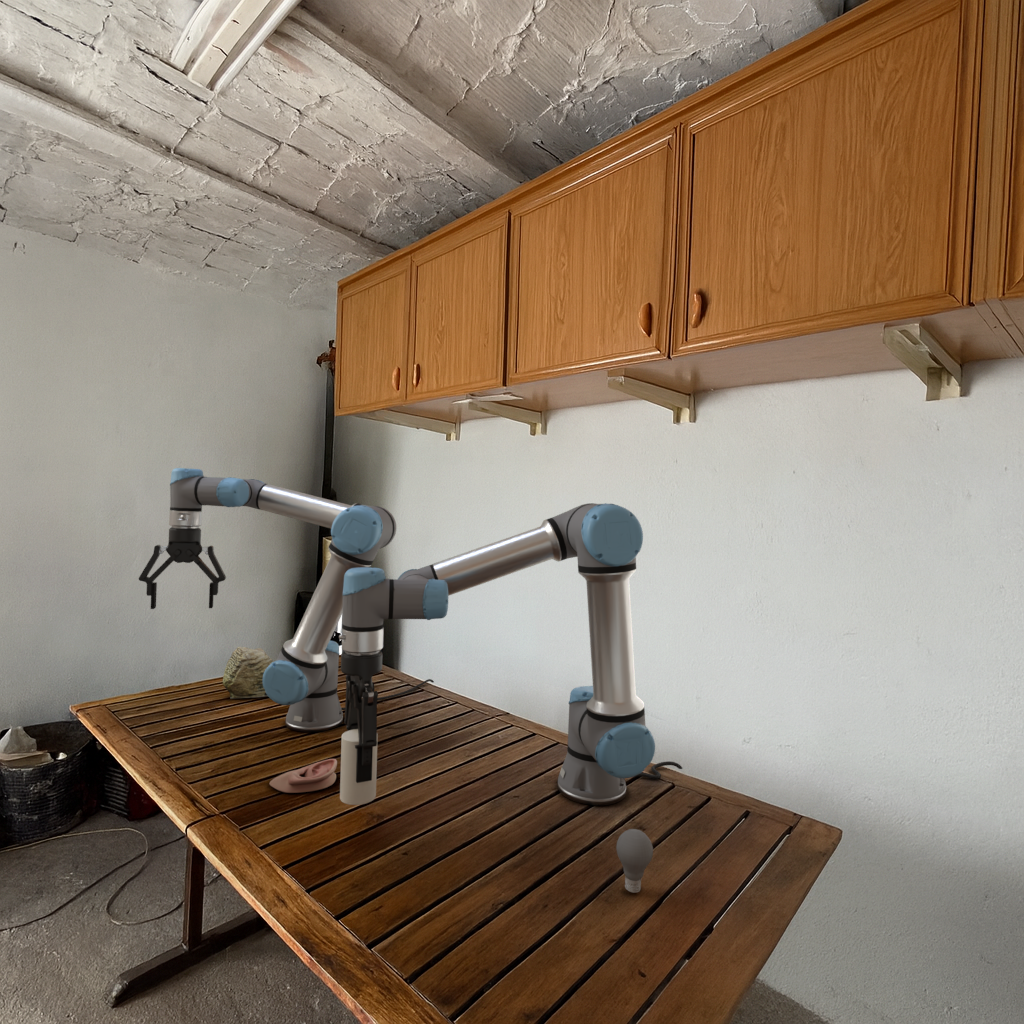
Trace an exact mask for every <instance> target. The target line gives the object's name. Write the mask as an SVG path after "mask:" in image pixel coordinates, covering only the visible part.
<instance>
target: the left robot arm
mask: <svg viewBox="0 0 1024 1024" xmlns="http://www.w3.org/2000/svg"><path fill="white" fill-rule="evenodd" d="M169 495H170V496H169V497H170V500H169V515H168V516H169V517H168V518H169V520H168V525H169V526H171V527H169V528H168V543H167V545H161V544H156V545H155V546H154V547H153V553H152V555H151V556H150V559H149V560H148V562H147V563H146V565H145V566H144V568H143V570H142V572H141V573H140V575H139V577H138V581H140V582H144V583H146V593H145V594H146V596H148V597H150V610H155V609H156V608H157V591H158V590H157V589H158V583H157V582H154V581H155V580H156V579H157V578H158V577H159V576H160V575H161V574H162V573H163V572H164V571H165V570H166V569H167V568H168V567H169V566H171V564H173V562H175V563H176V564H181V563H185V564H191V563H193V562H194V563H195V564H196V565H197V566H198V567H199V568H200V570H201V571H202V572H203V573H204V574H205V576H207V577H208V579H210V581H211V582H210V583H209V588H208V589H209V591H208V592H209V593H208V609H213V608H214V596H217V595H218V594H219V583H221V582H224V581H225V580H226V579H227V576H226V574H225V572H224V570H223V568H222V565H221V564H220V562H219V560H218V558H217V557H216V555H215V548H214V546H213V545H209V546H202V544H201V543H202V529H201V528H200V527H201V526H202V518H203V517H202V516H203V506H211V507H212V506H213V507H226V508H240V507H247V508H252V509H254V510H255V509H256V510H259V511H264V512H269V513H271V514H275V515H279V516H283V517H287V518H290V519H293V520H298V521H301V522H305V523H308V524H313V525H316V526H320V527H324V528H327V529H330V535H331V540H330V542H329V545H328V547H327V548H328V549H327V550H328V551H329V553H330V557H329V560H328V562H327V564H326V566H325V568H324V571H323V573H322V575H321V577H320V579H319V581H318V583H317V586H316V588H315V590H314V592H313V594H312V596H311V599H310V601H309V603H308V605H307V607H306V609H305V612H304V613H303V616H302V618H301V621H300V622H299V625H298V627H297V629H296V631H295V633H294V635H293V637H292V638H291V639H288V640H286V641H285V642H284V643H283V645H282V647H281V649H280V651H279V653H278V656H277V658H276V659H275V660H273V661H274V662H272V663H271V664H270V665H269V666H268V667H267V668H266V670H265V672H264V674H263V687H264V688H265V691H266V694H267V695H268V696H267V697H268V698H269V699H270V700H272V701H273V702H274V703H276V704H278V705H281V706H289V708H288V711H287V713H286V715H285V726H286V728H287V729H289V730H291V731H294V732H295V731H296V732H301V733H316V732H325V731H329V730H332V729H335V728H337V727H339V726H340V725H342V723H344V714H343V711H345V707H342V706H341V702H340V699H339V695H338V682H339V662H340V661H339V660H340V645H339V643H338V642H337V641H335V640H331V639H332V637H333V635H334V633H335V630H336V628H337V626H338V624H339V621H340V620H341V618H342V608H343V586H344V575H345V573H346V572H347V570H349V569H351V568H360V567H370V568H371V566H372V565H373V563H374V561H375V558H376V557H377V554H378V553H379V550H380V549H383V548H386V547H387V546H388V545H390V544H391V543H392V541H393V540H394V538H395V536H396V533H397V522H396V519H395V517H394V515H393V513H391V512H390V511H389V510H388V509H387V508H384V507H382V506H379V505H367V504H362V503H358V502H355V503H353V504H352V505H351V504H347V503H345V502H344V503H343V502H339V501H336V500H332V499H327V498H324V497H321V496H316V495H312V494H309V493H304V492H301V491H297V490H293V489H290V488H285V487H281V486H277V485H273V484H271V483H266V482H264V481H262V480H259V479H255V478H250V479H248V478H237V477H230V476H229V477H220V476H219V477H217V476H205V475H204V471H203V470H202V469H200V468H186V467H185V468H184V467H175V468H173V469H172V470H171V475H170V483H169ZM164 552H166V553H167V555H169V557H168V558H167V559H165V561H164V562H163V563H162V564H161V565H160V566H159V567H158V568H157V569H156V570H155V571H154V572H153V573H152V574H151V575H150V576H149V574H150V572H151V570H152V569H153V567H155V564H156V562H157V561H158V558H159V557H160V555H162V554H163V553H164ZM202 552H204V554H206V555H208V559H209V560H210V563H211V564H212V566H213V568H214V570H215V572H216V574H217V576H216V574H215V573H214V572H213V571H212V570H211V568H210V567H209V566H208V565H207V564H206V563H205V562H204V561H203V560H202V558H201V557H200V555H201V554H202ZM428 682H430V683H435V680H433V679H432V678H428V679H425V680H424V681H423V682H420V683H419V684H417V685H415V686H413V687H412V688H409V689H407V690H404V691H401V692H398V693H394V694H390V695H386V696H380V697H378V698H377V701H381V700H382V701H383V700H387V699H390V698H391V699H392V698H395V697H398V696H402V695H405V694H409V693H410V692H413V691H414V690H416V689H417V688H419V687H421V686H423V685H425V684H426V683H428Z"/></svg>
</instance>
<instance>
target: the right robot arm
mask: <svg viewBox="0 0 1024 1024" xmlns="http://www.w3.org/2000/svg"><path fill="white" fill-rule="evenodd" d="M643 542H644V533H643V527H642V525H641V523H640V521H639V519H638V517H637V516H636V515H635V514H634V513H632V511H630V510H629V509H627V508H626V507H623V506H621V505H618V504H614V503H607V502H605V503H584V504H579V505H578V506H576V507H572V508H571V509H569V510H567V511H564V512H562V513H560V514H557V515H555V516H552V517H549V518H547V519H544V520H543V521H542V523H541V524H540V526H538V527H535V528H532V529H529V530H526V531H524V532H520V533H517V534H514V535H512V536H509V537H506V538H502V539H500V540H498V541H494V542H492V543H489V544H486V545H483V546H481V547H477V548H475V549H471V550H468V551H466V552H463V553H460V554H457V555H454V556H452V557H448V558H445V559H442V560H439V561H437V562H434V563H432V564H429V565H426V566H423V567H420V568H412V569H407V570H405V571H403V572H402V573H401V574H399V576H398V578H397V579H395V578H394V579H393V578H386V573H385V570H384V569H383V568H379V567H371V566H370V567H360V568H351V569H349V570H347V572H346V573H345V575H344V586H343V608H342V615H341V620H342V621H341V623H342V624H341V628H342V629H341V632H342V634H339V635H338V639H339V640H340V641H341V650H343V651H342V653H341V654H340V655H341V656H340V671H341V673H342V674H344V675H345V700H344V701H345V703H344V704H345V705H344V708H345V710H344V719H343V723H344V725H346V727H345V728H346V731H349V730H353V729H358V737H359V745H355V749H357V762H356V782H357V783H360V782H365V781H371V780H372V753H373V747H374V746H377V747H378V740H377V734H378V700H377V698H379V692H378V690H375V683H374V682H373V677H374V675H377V674H379V673H381V671H383V652H382V651H381V650H382V649H384V629H385V628H384V621H385V620H427V621H430V620H431V621H432V620H438V619H439V620H441V619H444V618H446V616H447V615H448V611H449V596H453V595H455V594H458V593H460V592H463V591H466V590H469V589H471V588H474V587H477V586H480V585H483V584H486V583H489V582H491V581H495V580H497V579H500V578H502V577H503V578H504V577H505V576H508V575H511V574H514V573H518V572H519V571H522V570H525V569H528V568H531V567H534V566H536V565H540V564H542V563H546V562H548V561H551V560H554V561H555V562H558V563H559V562H563V561H565V560H568V559H572V558H577V571H578V572H577V573H578V574H579V575H580V576H581V577H582V578H583V579H584V580H585V582H586V597H587V598H586V599H587V614H588V615H587V616H588V631H589V632H588V633H589V646H590V662H591V664H590V665H591V677H592V679H591V680H592V685H582V686H576V687H574V688H573V689H571V691H570V693H569V701H568V726H567V750H566V754H565V758H564V761H563V763H562V765H561V768H560V771H559V774H558V777H557V790H558V792H559V793H560V794H561V795H562V796H564V797H565V798H566V799H568V800H571V801H573V802H576V803H579V804H582V805H588V806H589V805H590V806H608V805H609V806H610V805H613V804H617V803H619V802H622V800H624V798H625V797H626V795H627V784H626V779H631V778H636V777H639V778H640V777H643V778H647V779H652V780H660V779H661V777H662V774H661V773H660V771H658V770H657V769H658V768H662V767H664V766H673V767H676V768H677V769H679V770H683V769H684V768H683V767H682V765H681V764H679V763H678V762H675V761H667V760H666V761H661V762H658V763H655V764H653V765H652V766H651V767H650V770H651V772H652V773H653V774H650V773H646V772H644V771H645V770H646V768H647V767H648V766H649V765H650V764H651V763H652V762H653V759H654V757H655V753H656V752H655V751H656V741H655V738H654V736H653V734H652V732H651V730H650V729H649V728H648V727H647V725H646V712H645V710H646V709H645V703H644V700H642V699H641V698H640V697H639V696H638V695H637V691H636V690H637V688H636V672H635V656H634V655H635V654H634V638H633V637H634V636H633V622H632V621H633V620H632V604H631V586H630V580H631V579H630V578H631V577H632V576H633V575H634V574H635V573H636V571H637V556H638V554H639V553H640V552H641V550H642V547H643Z"/></svg>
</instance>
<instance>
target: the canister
mask: <svg viewBox="0 0 1024 1024" xmlns="http://www.w3.org/2000/svg"><path fill="white" fill-rule="evenodd" d="M378 737H379V735H378V733H377V741H378V740H379V739H378ZM340 745H341V747H340V748H341V749H340V777H339V778H340V779H339V780H340V783H339V801H341V802H342V803H343V804H345V805H350V806H362V805H365V804H368V803H371V802H372V801H374V800H375V799H376V797H377V776H378V775H377V774H378V773H377V772H378V771H377V770H378V745H377V746H374V747H373V753H372V780H371V781H365V782H360V783H357V782H356V762H357V749H355V745H359V737H358V729H353V730H349V731H347V730H346V731H344V732H343V733H342V734H341V744H340Z"/></svg>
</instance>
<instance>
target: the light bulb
mask: <svg viewBox="0 0 1024 1024" xmlns="http://www.w3.org/2000/svg"><path fill="white" fill-rule="evenodd" d="M615 849H616V854H617V857H618V859H619V861H620V863H621V865H622V867H623V873H624V874H623V875H624V876H625V878H624V888H625V890H627V891H628V892H630V893H634V894H635V893H639V892H640V891H641V889H642V887H641V886H642V879H643V877H644V875H645V871H646V868H647V867H648V866H649V864H650V863H651V861H652V859H653V855H654V847H653V843H652V841H651V838H649V836H648V835H647V834H646V833H645V832H643V831H642V830H641V829H636V828H629V829H627V830H625V831H623V832H622V833H621V834H620V835H619V837H618V839H617V841H616V847H615Z"/></svg>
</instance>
